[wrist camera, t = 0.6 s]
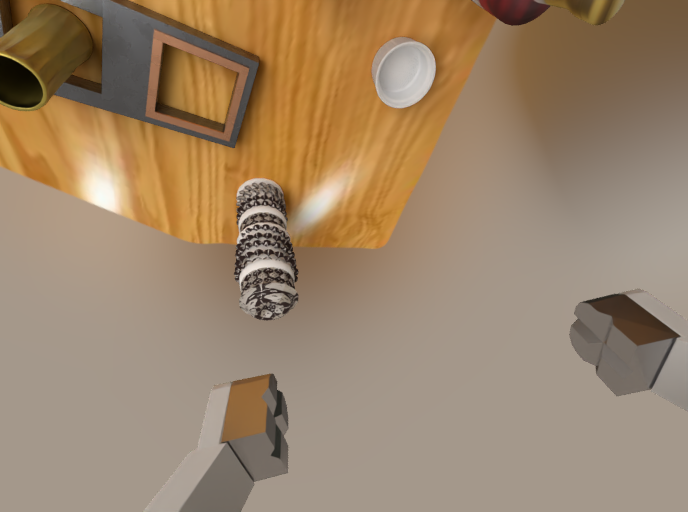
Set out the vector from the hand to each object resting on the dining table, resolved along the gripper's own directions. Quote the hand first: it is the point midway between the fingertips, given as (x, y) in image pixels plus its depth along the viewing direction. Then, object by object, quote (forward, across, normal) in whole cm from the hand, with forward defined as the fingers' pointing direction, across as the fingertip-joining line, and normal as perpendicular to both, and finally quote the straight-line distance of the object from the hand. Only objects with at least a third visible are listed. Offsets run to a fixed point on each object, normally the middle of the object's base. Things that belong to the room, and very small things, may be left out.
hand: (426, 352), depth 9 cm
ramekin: (+51, -13, -2) cm, 53 cm away
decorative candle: (+55, +13, +15) cm, 59 cm away
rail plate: (+48, +22, -9) cm, 53 cm away
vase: (+46, +28, -13) cm, 55 cm away
